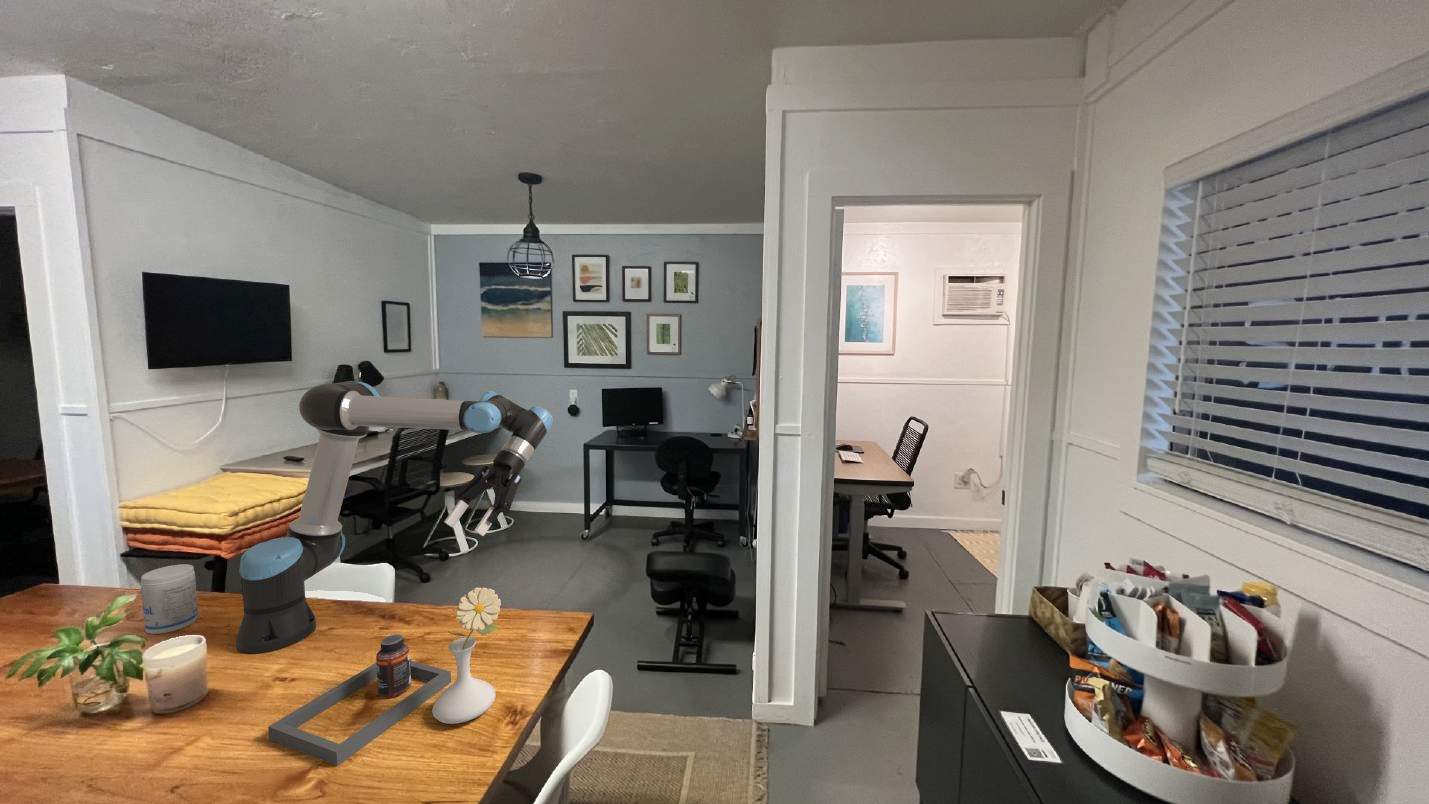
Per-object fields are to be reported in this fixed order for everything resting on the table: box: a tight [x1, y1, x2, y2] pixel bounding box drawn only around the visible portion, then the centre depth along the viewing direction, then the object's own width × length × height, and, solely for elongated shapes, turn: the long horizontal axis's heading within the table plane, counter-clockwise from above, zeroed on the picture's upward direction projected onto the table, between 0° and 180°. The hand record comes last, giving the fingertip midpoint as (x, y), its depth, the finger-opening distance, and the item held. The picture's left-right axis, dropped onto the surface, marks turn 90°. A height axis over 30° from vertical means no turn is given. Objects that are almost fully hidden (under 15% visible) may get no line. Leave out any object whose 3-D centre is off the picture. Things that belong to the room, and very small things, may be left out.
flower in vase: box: [431, 587, 502, 725], centre depth 101 cm, size 13×11×25 cm
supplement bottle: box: [375, 634, 412, 699], centre depth 108 cm, size 6×6×11 cm
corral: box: [268, 659, 452, 767], centre depth 102 cm, size 18×24×2 cm
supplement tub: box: [140, 563, 199, 635], centre depth 132 cm, size 10×10×15 cm
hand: (463, 529), depth 127 cm, fingers open, 11 cm apart
